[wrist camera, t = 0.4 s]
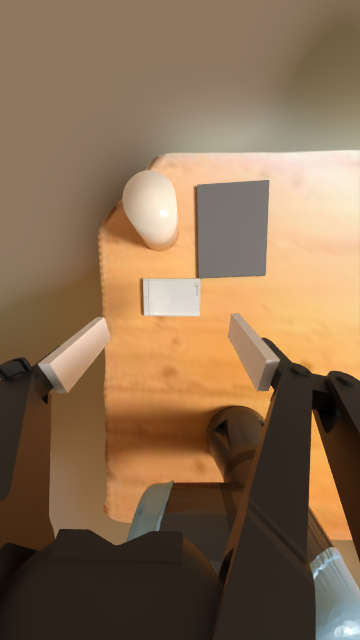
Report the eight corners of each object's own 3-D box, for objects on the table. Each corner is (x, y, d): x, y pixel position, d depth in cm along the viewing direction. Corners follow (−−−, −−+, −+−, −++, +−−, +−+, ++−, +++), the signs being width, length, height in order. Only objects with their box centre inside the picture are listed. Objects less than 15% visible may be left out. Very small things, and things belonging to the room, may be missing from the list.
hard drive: (200, 278, 29) (142, 278, 30) (199, 316, 30) (143, 316, 31) (199, 279, 31) (144, 279, 31) (199, 316, 32) (145, 315, 32)
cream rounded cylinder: (179, 250, 30) (176, 228, 21) (142, 252, 30) (124, 230, 21) (177, 210, 29) (174, 168, 20) (140, 212, 29) (120, 172, 20)
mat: (263, 275, 30) (265, 275, 29) (198, 278, 30) (198, 277, 30) (267, 182, 28) (269, 179, 27) (196, 187, 28) (197, 184, 28)
